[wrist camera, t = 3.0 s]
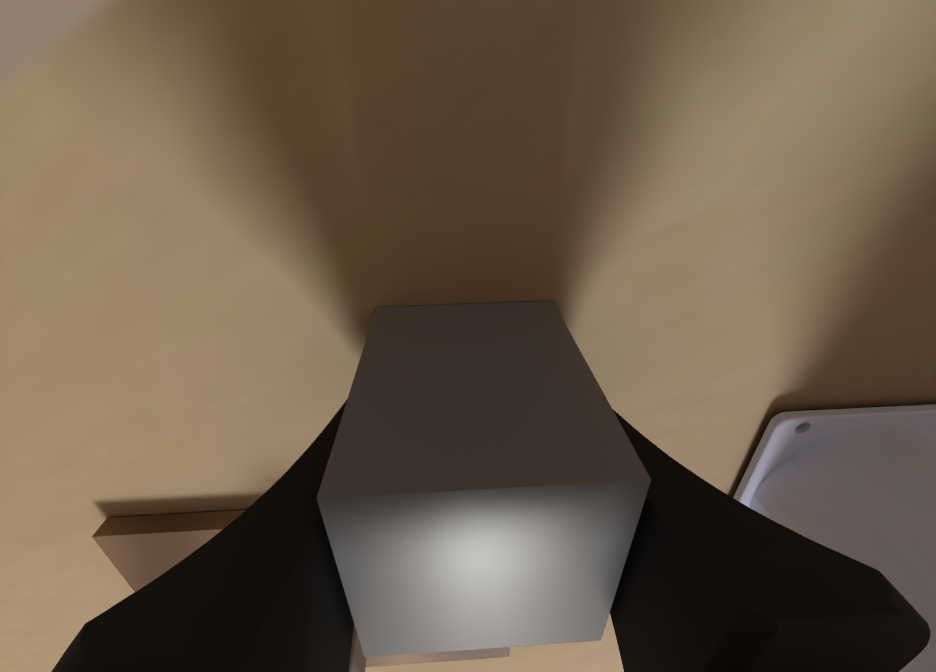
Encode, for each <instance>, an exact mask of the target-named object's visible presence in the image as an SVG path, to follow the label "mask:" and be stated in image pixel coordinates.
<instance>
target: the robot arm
mask: <svg viewBox="0 0 936 672" xmlns="http://www.w3.org/2000/svg"><path fill="white" fill-rule="evenodd" d="M346 403H347V400H346V402H345V403H344V404H343V406H342V407H341V408H340V409H339V411H338V412H337V413H336V415H335V416H334V417H333V419H332V420H331V421H330V422H329V424H328V425H327V426H326V427H325V429H324V430H323V431H322V432H321V433H320V435H319V436H318V437H317V438H316V439H315V441H314V442H313V443H312V444H311V445H310V447H309V448H308V449H307V450H306V451H305V452H304V453H303V454H302V455H301V457H300V458H299V459H298V460H297V461H296V462H295V463H294V464H293V465H292V466H291V467H290V468H289V470H288V471H287V472H286V473H285V474H284V475H283V476H282V477H281V478H280V479H279V480H278V481H277V482H276V483H275V484H274V485H273V486H272V487H271V488H270V489H269V490H268V491H267V492H266V493H264V494H263V495H262V496H261V497H260V498H259V499H258V500H257V501H256V502H255V503H254V504H253V505H251V506H250V507H249V508H248V509H247V510H246V511H244V512H243V513H242V514H241V515H240V516H238V517H237V518H236V519H235V520H234V521H232V522H231V523H230V524H229V525H227V526H226V527H225V528H224V529H223V530H221V531H220V532H219V533H218V534H216V535H215V536H214V537H213V538H211V539H210V540H209V541H208V542H206V543H205V544H204V545H202V546H201V547H200V548H198V549H197V550H195V551H194V552H193V553H191V554H190V555H189V556H187V557H186V558H185V559H183V560H182V561H180V562H179V563H178V564H176V565H175V566H173V567H172V568H170V569H169V570H168V571H166V572H165V573H163V574H162V575H160V576H159V577H158V578H156V579H155V580H153V581H152V582H150V583H149V584H147V585H146V586H144V587H142V588H141V589H139V590H138V591H136V592H135V593H133V594H132V595H130V596H128V597H127V598H125V599H124V600H122V601H121V602H119V603H118V604H116V605H114V606H113V607H111V608H110V609H108V610H107V611H105V612H104V613H102V614H100V615H99V616H97V617H95V618H94V619H92V620H91V621H89V622H87V623H86V624H85V625H84V626H83V628H82V629H81V630H80V632H79V633H78V634H77V636H76V637H75V639H74V640H73V641H72V643H71V644H70V646H69V647H68V648H67V650H66V651H65V653H64V654H63V656H62V657H61V659H60V660H59V662H58V663H57V665H56V666H55V668H54V669H53V670H52V672H349V666H350V657H351V648H352V639H353V630H354V621H353V618H352V614H351V611H350V608H349V604H348V601H347V598H346V594H345V591H344V588H343V585H342V581H341V578H340V575H339V571H338V568H337V565H336V561H335V558H334V555H333V551H332V548H331V545H330V541H329V538H328V535H327V531H326V528H325V525H324V521H323V518H322V515H321V511H320V508H319V505H318V501H317V495H318V492H319V489H320V486H321V482H322V479H323V476H324V473H325V470H326V466H327V463H328V460H329V457H330V454H331V451H332V447H333V444H334V441H335V438H336V435H337V431H338V428H339V425H340V422H341V419H342V415H343V412H344V409H345V406H346ZM612 410H613V409H612ZM613 411H614V410H613ZM614 413H615V415H616V417H617V419H618V420H619V422H620V424H621V426H622V428H623V429H624V431H625V433H626V435H627V437H628V439H629V440H630V442H631V444H632V446H633V448H634V449H635V451H636V453H637V455H638V457H639V458H640V460H641V462H642V464H643V466H644V467H645V469H646V471H647V473H648V475H649V477H650V478H651V483H650V486H649V489H648V492H647V495H646V498H645V502H644V505H643V508H642V511H641V514H640V517H639V521H638V524H637V527H636V530H635V533H634V537H633V540H632V543H631V546H630V549H629V552H628V556H627V559H626V562H625V565H624V568H623V571H622V575H621V578H620V581H619V584H618V587H617V591H616V594H615V597H614V600H613V603H612V606H611V610H610V614H611V618H612V622H613V626H614V630H615V634H616V638H617V642H618V647H619V651H620V655H621V660H622V664H623V668H624V672H936V404H934V405H913V406H892V407H872V408H851V409H830V410H810V411H789V412H782V413H779V414H777V415H775V416H774V417H773V418H772V419H771V420H770V422H769V424H768V426H767V428H766V430H765V432H764V434H763V436H762V439H761V441H760V443H759V445H758V447H757V449H756V451H755V453H754V455H753V457H752V459H751V462H750V464H749V466H748V468H747V470H746V472H745V474H744V476H743V478H742V480H741V482H740V485H739V487H738V489H737V491H736V493H735V495H734V497H733V498H732V497H730V496H729V495H727V494H725V493H724V492H722V491H720V490H719V489H717V488H715V487H714V486H712V485H711V484H709V483H708V482H706V481H704V480H703V479H701V478H700V477H699V476H697V475H696V474H694V473H693V472H691V471H690V470H688V469H687V468H685V467H684V466H682V465H681V464H679V463H678V462H677V461H675V460H674V459H673V458H671V457H670V456H668V455H667V454H666V453H665V452H663V451H662V450H661V449H659V448H658V447H657V446H656V445H654V444H653V443H652V442H650V441H649V440H648V439H647V438H645V437H644V436H643V435H642V434H641V433H639V432H638V431H637V430H636V429H635V428H633V427H632V426H631V425H630V424H629V423H628V422H627V421H625V420H624V419H623V418H622V417H621V416H620V415H619V414H618V413H616V412H615V411H614Z"/></svg>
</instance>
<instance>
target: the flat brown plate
mask: <svg viewBox="0 0 936 672" xmlns="http://www.w3.org/2000/svg"><path fill="white" fill-rule="evenodd" d="M244 511H246V510H235V511H217V512H199V513H181V514H163V515H145V516H127V517H109V518H107V519H106V520H105V521H104V523H103V524H102V525H101V526H100V528H99V529H98V530H97V531H96V533H95V534H94V535H93V536H92V537H93V539H94V540H95V541H96V542H97V544H98V545H99V546H100V548H101V549H102V550H103V551H104V553H105V554H106V555H107V557H108V558H109V559H110V560H111V562H112V563H113V564H114V566H115V567H116V568H117V569H118V571H119V572H120V573H121V575H122V576H123V577H124V579H125V580H126V581H127V582H128V584H129V585H130V586H131V588H132V589H133V590H134V591H135V592H136V591H138V590H139V589H141V588H142V587H144V586H146V585H147V584H149V583H150V582H152V581H153V580H155V579H156V578H158V577H159V576H160V575H162V574H163V573H165V572H166V571H168V570H169V569H170V568H172V567H173V566H175V565H176V564H178V563H179V562H180V561H182V560H183V559H185V558H186V557H187V556H189V555H190V554H191V553H193V552H194V551H195V550H197V549H198V548H200V547H201V546H202V545H204V544H205V543H206V542H208V541H209V540H210V539H211V538H213V537H214V536H215V535H216V534H218V533H219V532H220V531H221V530H223V529H224V528H225V527H226V526H227V525H229V524H230V523H231V522H232V521H234V520H235V519H236V518H237V517H238V516H240V515H241V514H242V513H243V512H244ZM509 654H510V647H502V648H488V649H474V650H460V651H447V652H433V653H419V654H405V655H391V656H377V657H364V654H363V651H362V648H361V644H360V641H359V638H358V634H357V631H356V628H355V624H354V630H353V639H352V648H351V657H350V666H349V672H365V667H375V666H389V665H402V664H416V663H430V662H443V661H457V660H471V659H484V658H498V657H509Z"/></svg>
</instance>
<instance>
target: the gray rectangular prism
mask: <svg viewBox="0 0 936 672" xmlns="http://www.w3.org/2000/svg"><path fill="white" fill-rule="evenodd" d="M650 483H651V478H650V477H649V475H648V473H647V471H646V469H645V467H644V466H643V464H642V462H641V460H640V458H639V457H638V455H637V453H636V451H635V449H634V448H633V446H632V444H631V442H630V440H629V439H628V437H627V435H626V433H625V431H624V429H623V428H622V426H621V424H620V422H619V420H618V419H617V417H616V415H615V413H614V411H613V410H612V408H611V406H610V404H609V402H608V401H607V399H606V397H605V395H604V393H603V392H602V390H601V388H600V386H599V384H598V382H597V381H596V379H595V377H594V375H593V373H592V372H591V370H590V368H589V366H588V364H587V363H586V361H585V359H584V357H583V355H582V354H581V352H580V350H579V348H578V346H577V344H576V343H575V341H574V339H573V337H572V335H571V334H570V332H569V330H568V328H567V326H566V325H565V323H564V321H563V319H562V317H561V316H560V314H559V312H558V310H557V308H556V306H555V305H554V303H553V301H534V302H505V303H477V304H449V305H420V306H392V307H376V310H375V313H374V316H373V320H372V323H371V326H370V329H369V332H368V336H367V339H366V342H365V345H364V348H363V352H362V355H361V358H360V361H359V364H358V368H357V371H356V374H355V377H354V380H353V383H352V387H351V390H350V393H349V396H348V399H347V403H346V406H345V409H344V412H343V415H342V419H341V422H340V425H339V428H338V431H337V435H336V438H335V441H334V444H333V447H332V451H331V454H330V457H329V460H328V463H327V466H326V470H325V473H324V476H323V479H322V482H321V486H320V489H319V492H318V495H317V501H318V505H319V508H320V511H321V515H322V518H323V521H324V525H325V528H326V531H327V535H328V538H329V541H330V545H331V548H332V551H333V555H334V558H335V561H336V565H337V568H338V571H339V575H340V578H341V581H342V585H343V588H344V591H345V594H346V598H347V601H348V604H349V608H350V611H351V614H352V618H353V621H354V624H355V628H356V631H357V634H358V638H359V641H360V644H361V648H362V651H363V654H364V657H377V656H391V655H405V654H419V653H433V652H447V651H460V650H474V649H488V648H502V647H516V646H530V645H544V644H557V643H571V642H585V641H599V640H601V638H602V635H603V632H604V629H605V625H606V622H607V619H608V616H609V613H610V610H611V606H612V603H613V600H614V597H615V594H616V591H617V587H618V584H619V581H620V578H621V575H622V571H623V568H624V565H625V562H626V559H627V556H628V552H629V549H630V546H631V543H632V540H633V537H634V533H635V530H636V527H637V524H638V521H639V517H640V514H641V511H642V508H643V505H644V502H645V498H646V495H647V492H648V489H649V486H650Z"/></svg>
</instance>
